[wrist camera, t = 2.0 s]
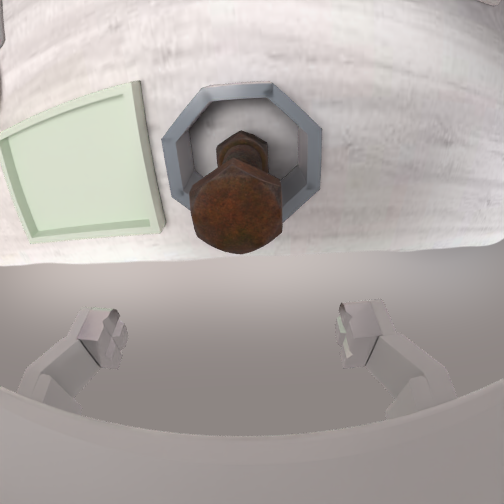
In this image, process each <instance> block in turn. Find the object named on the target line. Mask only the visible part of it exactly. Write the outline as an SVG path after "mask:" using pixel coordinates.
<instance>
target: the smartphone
mask: <svg viewBox="0 0 504 504" xmlns="http://www.w3.org/2000/svg"><path fill="white" fill-rule="evenodd" d="M4 41H5V33H4V23H3V10H2V0H0V48H1V47H2V46H3V44H4Z"/></svg>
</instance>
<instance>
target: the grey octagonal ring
mask: <svg viewBox="0 0 504 504" xmlns="http://www.w3.org/2000/svg"><path fill="white" fill-rule="evenodd" d="M245 98H268V99H269V100H270V101H272V102H273V103H274V104H275V105H276V106H277V107H278V108H280V109H281V110H282V111H283V112H284V113H285V114H286V115H287V116H288V117H290V118H291V119H292V120H293V121H294V122H295V123H296V124H297V125H298V165H297V166H296V167H295V168H294V169H293V170H292V171H291V172H290V173H289V174H288V175H287V176H286V177H285V178H284V179H283V180H281V181H280V182H281V189H282V223H283V222H284V221H285V220H286V219H288V218H289V217H290V216H291V215H292V214H293V213H294V212H295V211H296V210H297V209H299V208H300V207H301V206H302V205H303V204H304V203H305V202H306V201H307V200H309V199H310V198H311V197H312V196H313V195H314V194H315V193H316V192H317V191H319V190H320V177H321V151H322V128H320V127H319V126H318V125H317V124H316V123H315V122H314V121H313V120H312V119H311V118H310V117H309V116H308V115H307V114H306V113H305V112H304V111H303V110H302V109H301V108H300V107H299V106H298V105H297V104H296V103H294V102H293V101H292V100H291V99H290V98H289V97H288V96H287V95H286V94H285V93H283V92H282V91H281V90H280V89H279V88H278V87H277V86H275V85H274V84H273V83H272V82H270V81H260V82H241V83H228V84H218V85H210V86H207V87H204V88H201V90H200V91H199V92H198V93H197V94H196V96H195V97H194V98H193V99H192V100H191V102H190V103H189V104H188V105H187V107H186V108H185V109H184V110H183V112H182V113H181V114H180V115H179V117H178V118H177V119H176V121H175V122H174V123H173V124H172V126H171V127H170V128H169V130H168V131H167V132H166V134H165V135H164V136H163V138H162V139H161V140H162V146H163V152H164V158H165V164H166V169H167V175H168V180H169V185H170V190H171V195H172V198H174V199H175V200H177V201H178V202H179V203H181V204H182V205H184V206H185V207H186V208H188V209H189V210H190V199H189V192H190V190H191V188H192V185H193V184H195V183H196V182H198V181H199V180H201V179H202V178H204V177H203V176H202V175H200V174H199V173H198V172H196V171H195V170H194V163H193V156H192V149H191V142H190V134H189V129H190V128H191V126H192V125H193V124H194V123H195V122H196V120H197V119H198V118H199V117H200V116H201V114H202V113H203V112H204V111H205V110H206V109H207V107H208V106H209V105H210V104H211V103H212V102H213V101H220V100H231V99H245ZM190 211H191V210H190Z"/></svg>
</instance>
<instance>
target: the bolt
mask: <svg viewBox="0 0 504 504" xmlns="http://www.w3.org/2000/svg"><path fill="white" fill-rule="evenodd" d="M216 153H217V164H218V168H217V169H215V170H214V171H212V172H211V173H209V174H208V175H206V176H205V177H204V178H202V179H201V180H199V181H198V182H196V183H195V184H193V185H192V188H191V190H190V192H189V199H190V210H191V216H192V220H193V225H194V229H195V232H196V235H197V237H198V238H200V239H201V240H203V241H204V242H205V243H207V244H209V245H211V246H213V247H215V248H217V249H219V250H222V251H225V252H229V253H235V254H245V253H249V252H252V251H254V250H257V249H259V248H261V247H263V246H265V245H266V244H268V243H269V242H271V241H272V240H273V239H275V238H276V237H277V236H278V235H279V234H281V233H282V189H281V182H280V179H278V178H276V177H274V176H272V175H270V174H268V150H267V142H265V141H263V140H262V139H260V138H258V137H256V136H255V135H253V134H249V133H247V132H244V131H239V132H237V133H236V134H234V135H232V136H231V137H229V138H228V139H226V140H225V141H223V142H222V143H221V144H219V145H218V146H217V149H216Z"/></svg>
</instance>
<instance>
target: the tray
mask: <svg viewBox="0 0 504 504" xmlns="http://www.w3.org/2000/svg"><path fill="white" fill-rule="evenodd" d="M0 163H1V167H2V170H3V174H4V177H5V180H6V183H7V186H8V189H9V192H10V195H11V198H12V200H13V203H14V206H15V209H16V211H17V214H18V216H19V219H20V221H21V224H22V226H23V228H24V231H25V233H26V235H27V237H28V240H29V242H30V244H36V243H46V242H57V241H68V240H80V239H92V238H104V237H117V236H131V235H145V234H160V233H161V232H162V230H163V228H164V226H165V224H166V220H165V216H164V212H163V207H162V203H161V198H160V194H159V189H158V184H157V180H156V175H155V170H154V165H153V159H152V154H151V148H150V143H149V137H148V131H147V125H146V119H145V112H144V106H143V98H142V91H141V83H140V81H133V82H129V83H125V84H121V85H117V86H114V87H110V88H107V89H104V90H100V91H97V92H94V93H91V94H88V95H85V96H82V97H79V98H76V99H74V100H71V101H68V102H66V103H63V104H60V105H58V106H55V107H53V108H50V109H48V110H46V111H43V112H41V113H39V114H37V115H34V116H32V117H30V118H28V119H26V120H24V121H22V122H20V123H18V124H16V125H14V126H12V127H10V128H8V129H6V130H4V131H2V132H0Z"/></svg>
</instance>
